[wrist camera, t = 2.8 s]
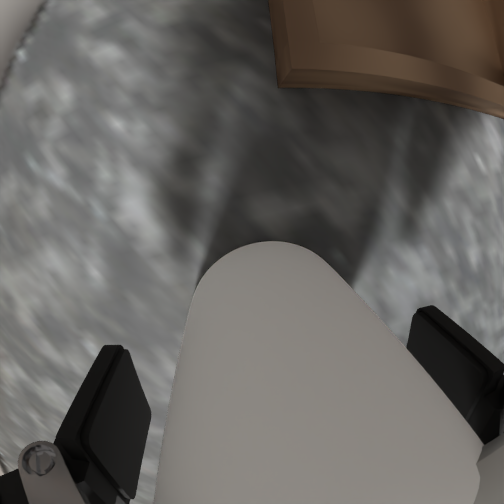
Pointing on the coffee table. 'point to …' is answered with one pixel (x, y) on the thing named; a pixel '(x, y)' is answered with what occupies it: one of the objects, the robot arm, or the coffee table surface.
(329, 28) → the tray
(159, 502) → the can
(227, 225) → the coffee table surface
